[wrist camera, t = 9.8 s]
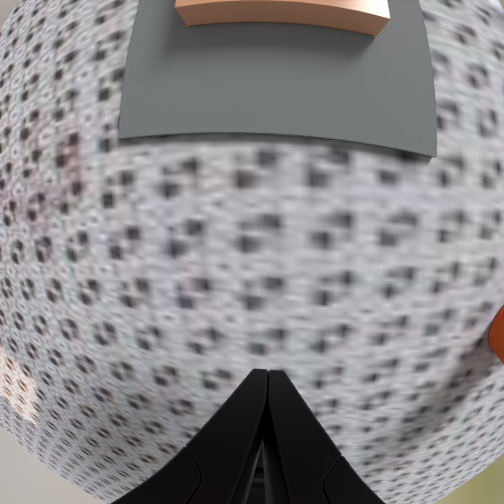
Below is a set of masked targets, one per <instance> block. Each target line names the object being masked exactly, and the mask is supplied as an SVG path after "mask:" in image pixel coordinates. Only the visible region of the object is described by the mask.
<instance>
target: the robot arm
mask: <svg viewBox="0 0 504 504" xmlns="http://www.w3.org/2000/svg"><path fill="white" fill-rule="evenodd" d="M341 455H342V454H341V452H340V451H339V449H338V448H337V447H336V445H335V444H334V442H333V441H332V440H331V438H330V437H329V435H328V434H327V433H326V431H325V430H324V428H323V427H322V426H321V424H320V423H319V421H318V420H317V418H316V417H315V416H314V414H313V413H312V411H311V410H310V408H309V407H308V405H307V404H306V402H305V401H304V400H303V398H302V397H301V395H300V394H299V392H298V391H297V389H296V388H295V386H294V385H293V383H292V382H291V380H290V379H289V377H288V376H287V374H286V373H285V372H284V371H283V370H269V372H268V370H266V369H253V370H252V371H251V372H250V373H249V374H248V375H247V377H246V378H245V379H244V380H243V381H242V383H241V384H240V385H239V386H238V387H237V389H236V390H235V391H234V392H233V393H232V394H231V396H230V397H229V398H228V399H227V400H226V401H225V403H224V404H223V405H222V406H221V407H220V408H219V409H218V411H217V412H216V413H215V414H214V415H213V416H212V417H211V418H210V419H209V421H208V422H207V423H206V424H205V425H204V426H203V427H202V428H201V429H200V430H199V431H198V433H197V434H196V435H195V436H194V437H193V438H192V439H191V440H190V441H189V442H188V443H187V444H186V447H183V448H182V449H181V450H180V451H179V452H178V453H177V454H176V455H175V456H174V457H173V458H172V459H171V460H170V461H169V462H168V463H167V464H166V465H165V466H164V467H162V468H161V469H160V470H159V471H158V472H156V473H155V474H154V475H152V476H151V477H150V478H148V479H147V480H146V481H144V482H143V483H142V484H140V485H139V486H137V487H136V488H134V489H133V490H131V491H130V492H128V493H127V494H125V495H124V496H122V497H120V498H119V499H117V500H116V501H114V502H112V503H111V504H386V503H384V502H383V501H382V500H381V499H380V498H379V497H378V496H377V495H376V494H375V493H374V492H373V491H372V490H371V489H370V488H369V487H368V486H367V485H366V484H365V483H364V482H363V481H362V479H361V478H360V477H359V476H358V474H357V473H356V472H355V471H354V469H353V468H352V467H351V466H350V464H349V463H348V462H347V460H346V459H345V457H344V456H341Z"/></svg>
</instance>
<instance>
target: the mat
mask: <svg viewBox="0 0 504 504" xmlns="http://www.w3.org/2000/svg"><path fill="white" fill-rule="evenodd" d="M175 3H176V0H140V4H139V7H138V11H137V15H136V19H135V23H134V28H133V32H132V37H131V42H130V47H129V52H128V58H127V64H126V70H125V77H124V84H123V92H122V100H121V110H120V121H119V135H118V138H119V139H129V138H138V137H149V136H162V135H179V134H210V133H239V134H270V135H287V136H301V137H312V138H322V139H331V140H339V141H347V142H354V143H361V144H367V145H374V146H379V147H385V148H391V149H396V150H401V151H406V152H410V153H415V154H420V155H424V156H428V157H436V156H437V123H436V102H435V89H434V79H433V70H432V62H431V56H430V49H429V44H428V38H427V33H426V28H425V24H424V19H423V15H422V11H421V7H420V4H419V0H387V4H388V8H389V14H390V20H389V21H388V23H387V24H386V25H385V26H384V28H383V29H382V30H381V32H380V33H379V34H378V35H377V36H374V35H370V34H365V33H361V32H356V31H351V30H345V29H340V28H333V27H326V26H319V25H310V24H300V23H286V22H224V23H210V24H200V25H191V26H187V25H186V24H185V22H184V21H183V19H182V18H181V16H180V15H179V13H178V12H177V10H176V9H175Z"/></svg>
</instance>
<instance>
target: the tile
mask: <svg viewBox="0 0 504 504" xmlns="http://www.w3.org/2000/svg"><path fill="white" fill-rule="evenodd" d="M175 9H176V10H177V12H178V13H179V15H180V16H181V18H182V19H183V21H184V22H185V24H186V25H187V26H191V25H200V24H210V23H224V22H286V23H300V24H310V25H319V26H326V27H333V28H340V29H345V30H351V31H356V32H361V33H365V34H370V35H374V36H377V35H378V34H379V33H380V32H381V30H382V29H383V28H384V26H385V25H386V24H387V23H388V21H389V20H390V14H389V8H388V4H387V0H176V3H175Z"/></svg>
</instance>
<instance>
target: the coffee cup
mask: <svg viewBox="0 0 504 504" xmlns="http://www.w3.org/2000/svg"><path fill="white" fill-rule="evenodd" d="M488 343H489V345H490V347H491V348H492V350H493V351H494V353H495V354H496V355H497V356H498V358H499V359H500V360H501V362H502V363H503V364H504V305H503V306H502V308H501V309H500V310H499V312H498V313H497V315H496V316H495V318H494V320H493V322H492V324H491V327H490V330H489V334H488Z"/></svg>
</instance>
